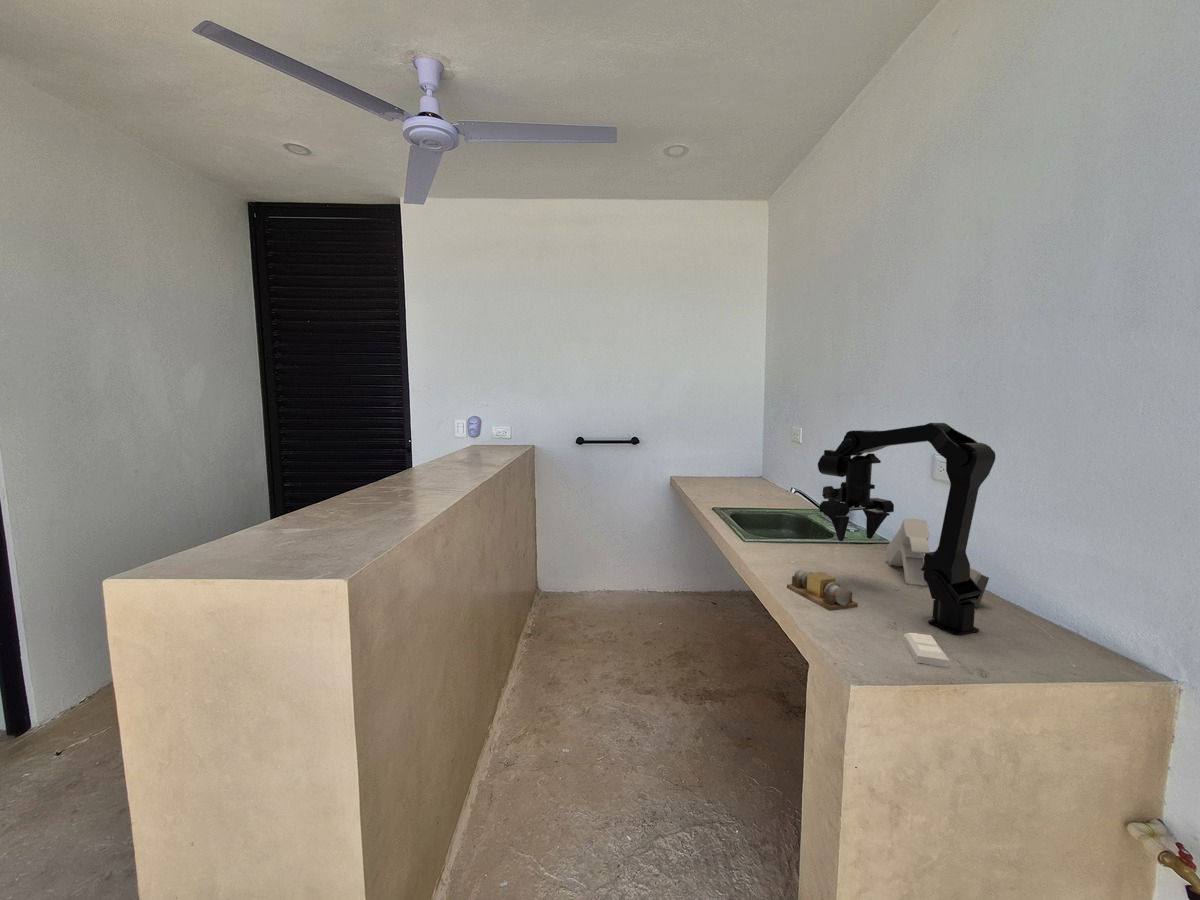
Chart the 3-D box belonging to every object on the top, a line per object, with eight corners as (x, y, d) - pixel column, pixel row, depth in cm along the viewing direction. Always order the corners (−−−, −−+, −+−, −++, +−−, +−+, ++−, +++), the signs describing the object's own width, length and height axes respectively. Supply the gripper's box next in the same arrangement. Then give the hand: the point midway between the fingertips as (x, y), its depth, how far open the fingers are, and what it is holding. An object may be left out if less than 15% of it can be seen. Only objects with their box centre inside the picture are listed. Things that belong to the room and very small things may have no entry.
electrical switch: (936, 594, 122) (942, 558, 121) (956, 596, 122) (963, 560, 121) (964, 609, 113) (971, 571, 112) (986, 612, 113) (993, 573, 112)
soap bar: (932, 646, 95) (932, 633, 95) (948, 669, 87) (949, 655, 87) (903, 642, 97) (904, 630, 97) (916, 665, 89) (917, 651, 88)
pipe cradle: (857, 606, 114) (858, 586, 113) (829, 610, 111) (830, 589, 111) (812, 584, 128) (812, 566, 128) (786, 587, 126) (787, 569, 125)
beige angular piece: (909, 548, 146) (928, 517, 130) (917, 601, 137) (938, 576, 121) (885, 546, 148) (902, 516, 132) (891, 598, 139) (910, 573, 123)
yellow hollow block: (836, 596, 118) (836, 578, 117) (820, 598, 116) (821, 580, 116) (820, 588, 123) (821, 571, 122) (805, 590, 121) (806, 573, 121)
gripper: (861, 474, 133) (858, 529, 134) (805, 476, 128) (803, 534, 129) (897, 479, 123) (893, 540, 124) (837, 482, 117) (834, 545, 118)
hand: (855, 539), depth 124 cm, fingers open, 9 cm apart
